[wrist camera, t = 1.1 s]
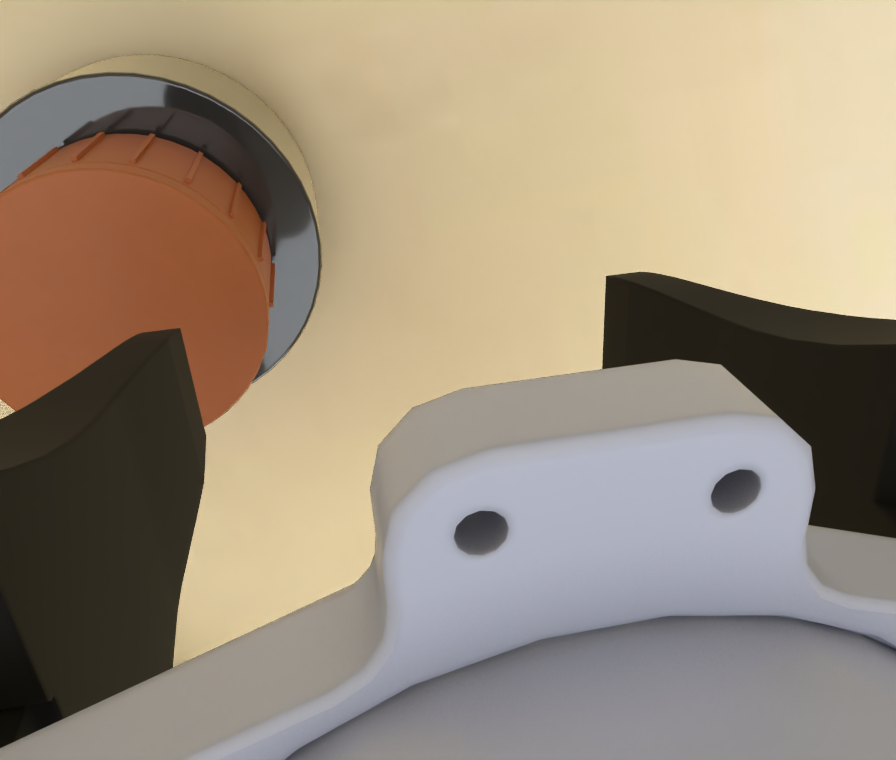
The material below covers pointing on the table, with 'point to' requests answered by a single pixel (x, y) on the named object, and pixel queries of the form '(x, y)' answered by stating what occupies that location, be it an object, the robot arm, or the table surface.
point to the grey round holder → (200, 129)
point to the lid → (131, 266)
